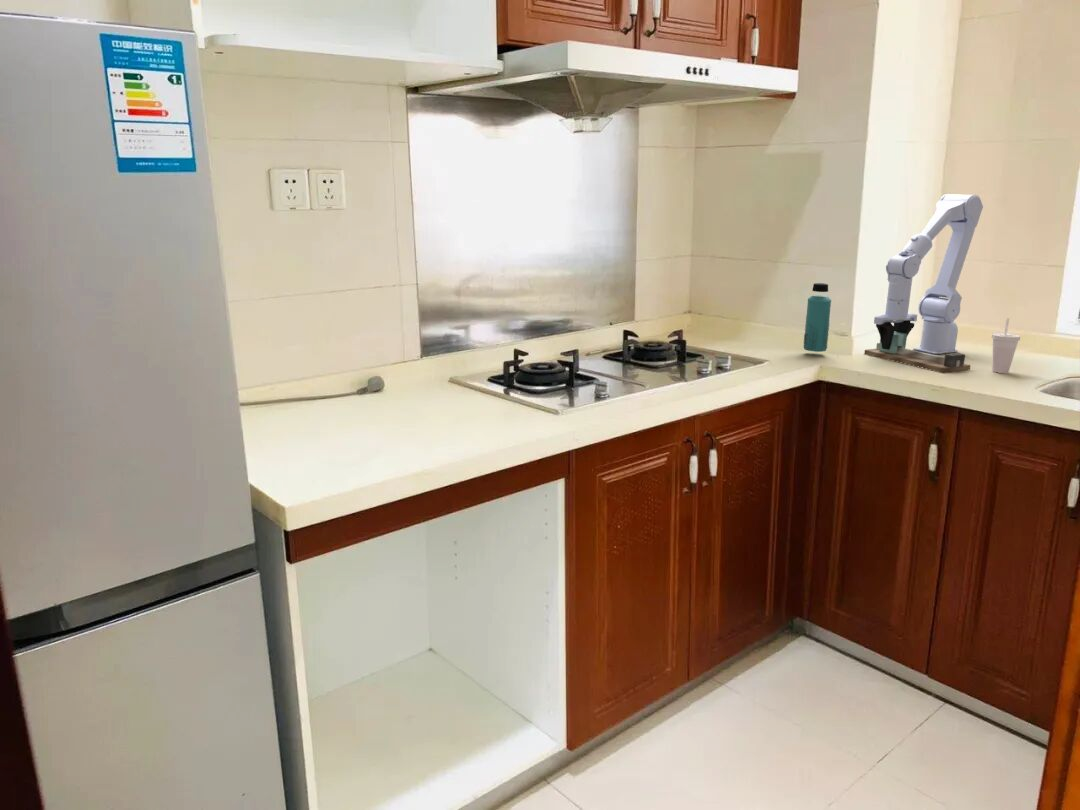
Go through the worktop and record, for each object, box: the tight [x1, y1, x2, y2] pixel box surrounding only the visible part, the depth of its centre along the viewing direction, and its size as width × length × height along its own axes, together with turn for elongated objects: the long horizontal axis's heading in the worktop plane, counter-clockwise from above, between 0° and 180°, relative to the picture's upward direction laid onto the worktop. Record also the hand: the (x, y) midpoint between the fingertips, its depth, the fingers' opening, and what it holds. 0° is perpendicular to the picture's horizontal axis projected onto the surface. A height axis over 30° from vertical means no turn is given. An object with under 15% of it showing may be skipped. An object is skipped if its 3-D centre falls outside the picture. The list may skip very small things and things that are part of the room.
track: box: [863, 342, 972, 374], centre depth 223 cm, size 26×10×4 cm, turn 26°
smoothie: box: [991, 317, 1021, 374], centre depth 211 cm, size 6×6×14 cm
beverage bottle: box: [803, 282, 832, 353], centre depth 229 cm, size 6×7×20 cm
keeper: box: [879, 332, 908, 354], centre depth 230 cm, size 5×4×5 cm
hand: (892, 348), depth 230 cm, fingers closed on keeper, 4 cm apart
